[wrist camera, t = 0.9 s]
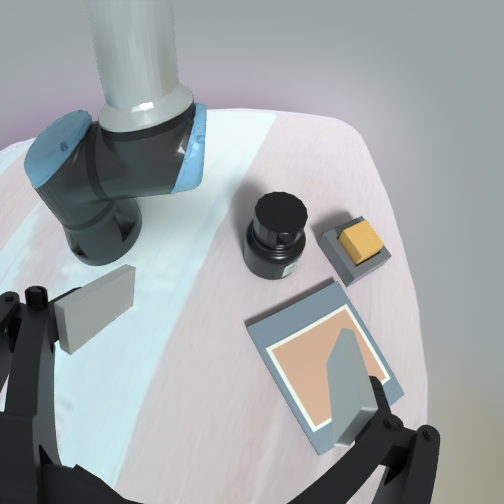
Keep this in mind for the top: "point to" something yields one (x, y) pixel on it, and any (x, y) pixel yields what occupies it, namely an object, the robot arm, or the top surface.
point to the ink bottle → (275, 236)
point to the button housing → (343, 261)
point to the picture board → (316, 357)
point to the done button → (360, 242)
